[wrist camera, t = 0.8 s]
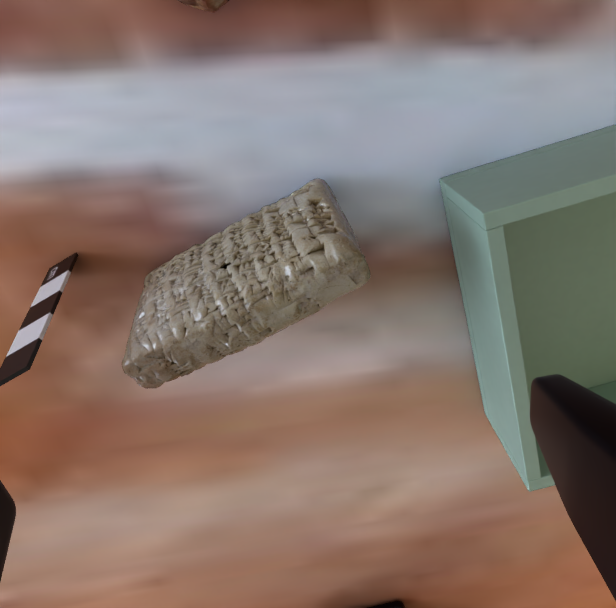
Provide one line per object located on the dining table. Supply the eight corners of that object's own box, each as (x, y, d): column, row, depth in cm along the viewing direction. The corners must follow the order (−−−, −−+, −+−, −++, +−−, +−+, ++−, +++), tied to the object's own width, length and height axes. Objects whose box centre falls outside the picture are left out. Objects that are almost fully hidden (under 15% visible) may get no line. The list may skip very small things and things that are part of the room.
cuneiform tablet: (49, 268, 23) (296, 118, 20) (121, 337, 25) (348, 210, 23) (-10, 386, 17) (326, 194, 15) (91, 460, 19) (391, 306, 17)
